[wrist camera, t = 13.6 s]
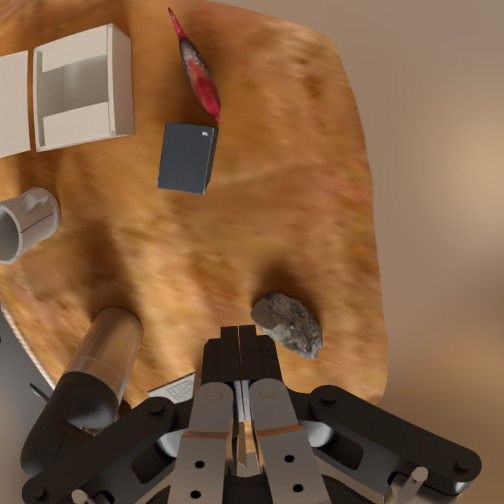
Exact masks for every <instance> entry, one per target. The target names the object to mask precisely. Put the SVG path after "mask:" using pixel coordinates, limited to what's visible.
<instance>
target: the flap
mask: <svg viewBox="0 0 504 504" xmlns="http://www.w3.org/2000/svg"><path fill="white" fill-rule="evenodd" d="M27 69H28V50H27V51H23V52H18V53H14V54H10V55H6V56H2V57H0V158H2V157H6V156H9V155H13V154H17V153H20V152H24V151H28V150H31V149H30V137H29V123H28V99H27Z"/></svg>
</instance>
